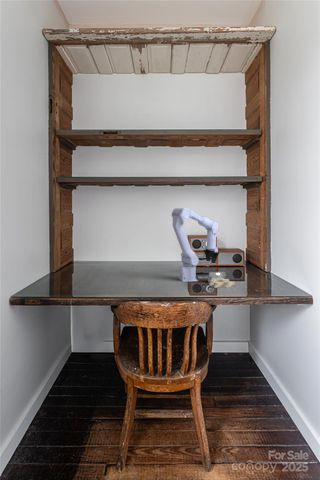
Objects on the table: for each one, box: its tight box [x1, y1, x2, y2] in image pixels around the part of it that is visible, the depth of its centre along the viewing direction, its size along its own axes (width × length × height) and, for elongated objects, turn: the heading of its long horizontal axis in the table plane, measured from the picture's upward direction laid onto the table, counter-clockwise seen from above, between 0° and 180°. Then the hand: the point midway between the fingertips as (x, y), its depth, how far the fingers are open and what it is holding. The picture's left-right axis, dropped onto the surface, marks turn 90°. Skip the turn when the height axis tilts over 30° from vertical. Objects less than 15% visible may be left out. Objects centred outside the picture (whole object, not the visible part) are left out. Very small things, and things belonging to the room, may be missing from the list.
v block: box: [207, 277, 225, 283], centre depth 182 cm, size 8×5×2 cm, turn 106°
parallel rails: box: [208, 278, 236, 289], centre depth 175 cm, size 12×7×2 cm, turn 106°
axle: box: [208, 271, 227, 279], centre depth 182 cm, size 9×4×4 cm, turn 106°
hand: (210, 262), depth 196 cm, fingers open, 7 cm apart
